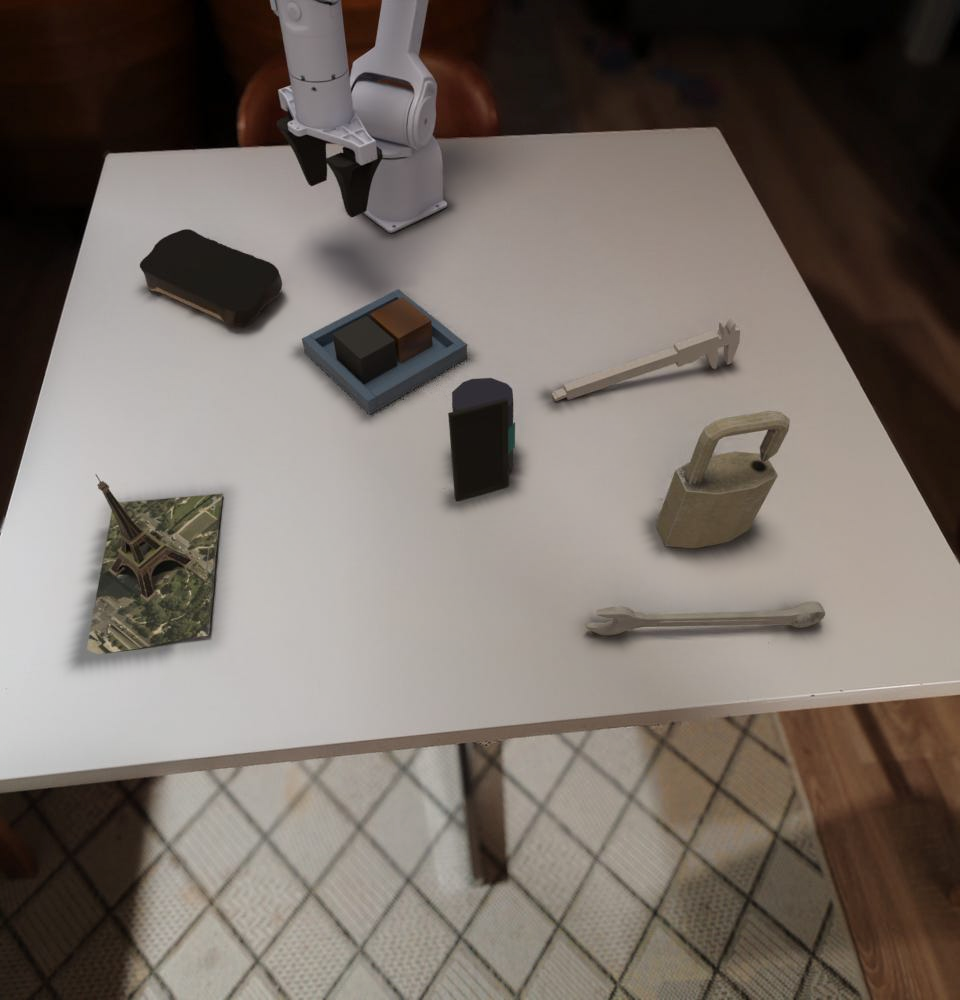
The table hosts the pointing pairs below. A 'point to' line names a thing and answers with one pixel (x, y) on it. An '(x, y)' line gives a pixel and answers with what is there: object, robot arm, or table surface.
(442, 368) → the holder
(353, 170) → the robot arm
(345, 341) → the black block
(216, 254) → the black sponge
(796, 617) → the combination wrench
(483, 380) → the speaker
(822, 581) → the table surface
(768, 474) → the padlock
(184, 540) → the eiffel tower figurine
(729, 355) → the caliper
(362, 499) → the table surface
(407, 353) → the walnut block
